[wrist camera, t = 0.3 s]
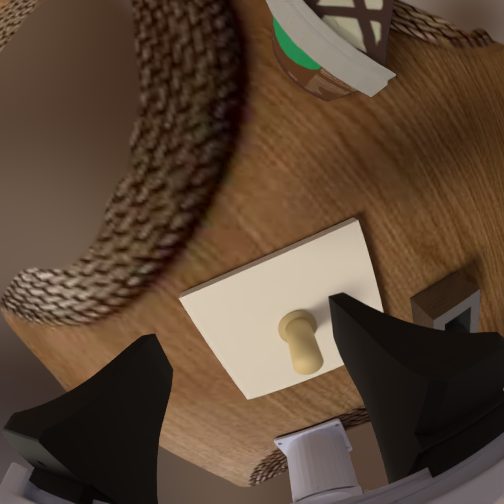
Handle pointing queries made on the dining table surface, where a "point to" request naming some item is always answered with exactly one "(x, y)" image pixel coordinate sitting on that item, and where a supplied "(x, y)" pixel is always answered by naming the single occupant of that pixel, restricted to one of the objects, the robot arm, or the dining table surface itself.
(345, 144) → the dining table surface
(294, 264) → the shaft board
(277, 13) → the food container
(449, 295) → the collar
